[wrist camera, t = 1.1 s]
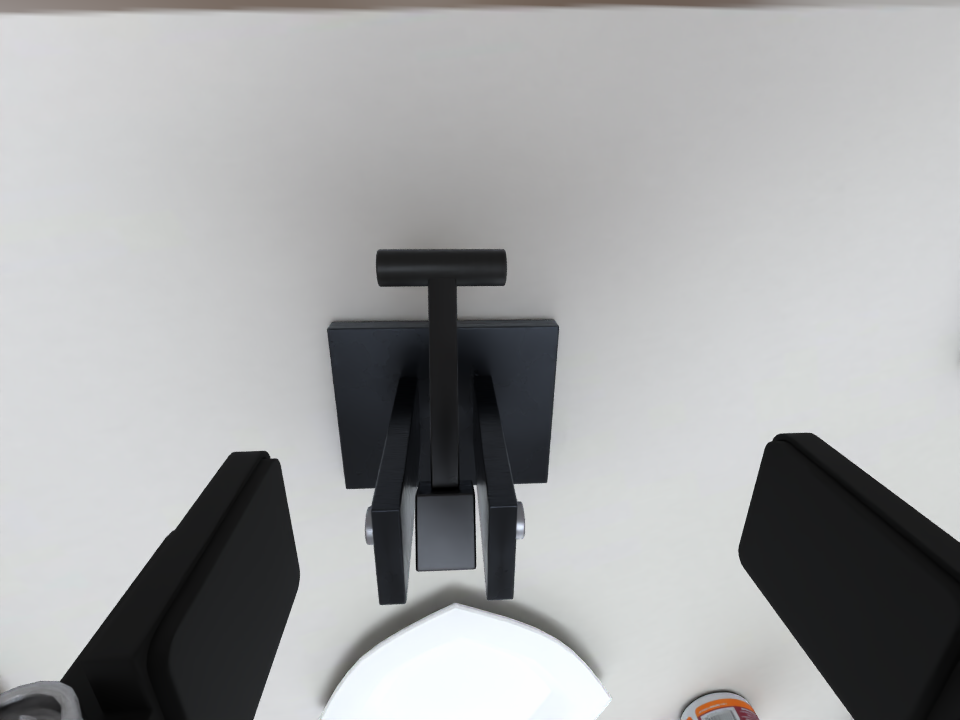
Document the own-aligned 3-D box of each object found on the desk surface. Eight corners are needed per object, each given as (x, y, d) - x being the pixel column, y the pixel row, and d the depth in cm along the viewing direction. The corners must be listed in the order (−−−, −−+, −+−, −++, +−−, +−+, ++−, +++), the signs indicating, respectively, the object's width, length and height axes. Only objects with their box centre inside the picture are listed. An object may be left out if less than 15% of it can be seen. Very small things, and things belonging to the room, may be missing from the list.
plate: (637, 671, 38) (646, 696, 36) (474, 788, 43) (475, 816, 41) (452, 553, 33) (452, 577, 31) (288, 704, 37) (280, 732, 36)
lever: (382, 257, 20) (373, 241, 18) (501, 257, 21) (508, 241, 18) (385, 550, 20) (376, 574, 18) (506, 546, 20) (514, 568, 18)
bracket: (331, 321, 26) (247, 441, 15) (554, 319, 27) (629, 432, 16) (349, 477, 30) (292, 662, 19) (543, 471, 30) (597, 646, 20)
